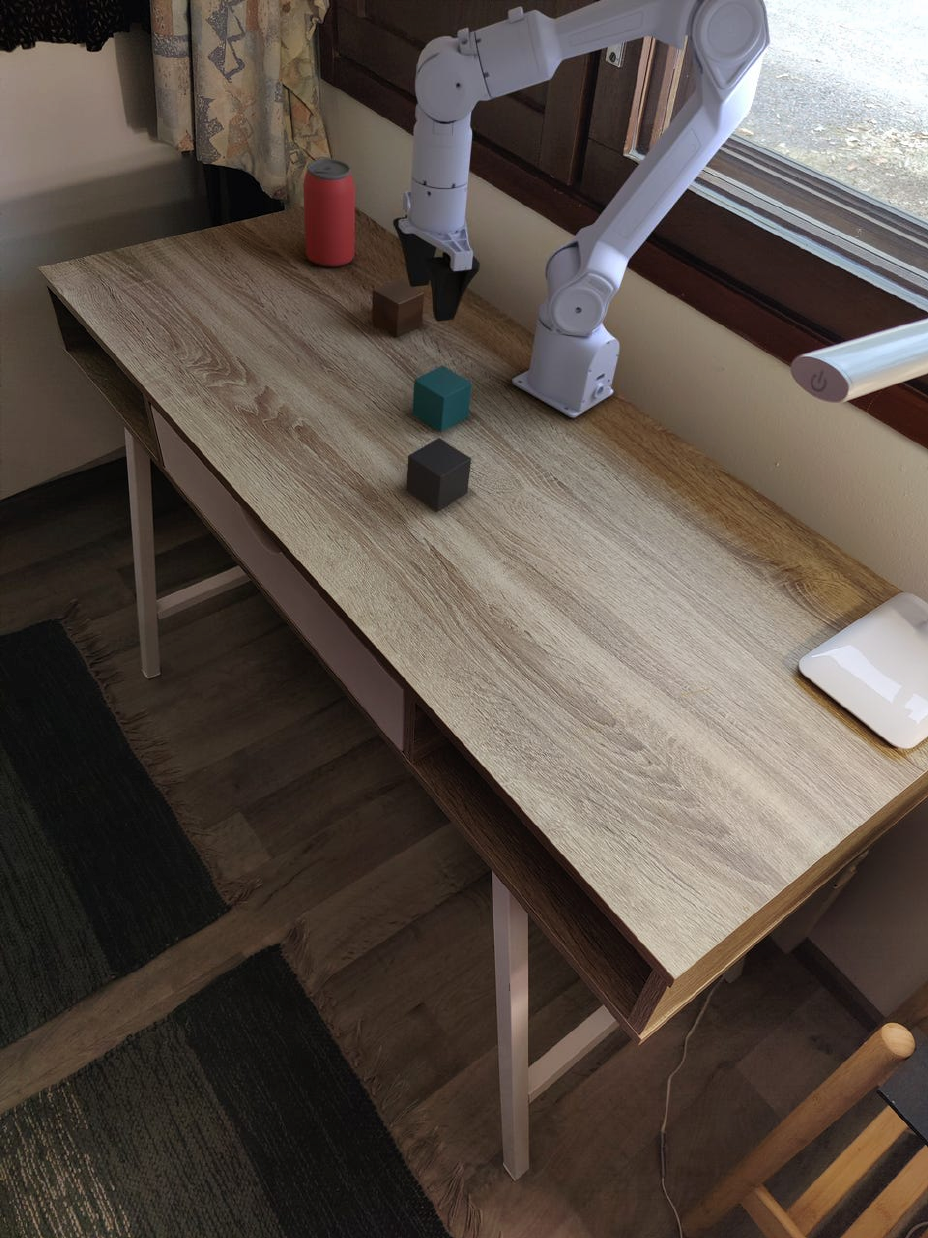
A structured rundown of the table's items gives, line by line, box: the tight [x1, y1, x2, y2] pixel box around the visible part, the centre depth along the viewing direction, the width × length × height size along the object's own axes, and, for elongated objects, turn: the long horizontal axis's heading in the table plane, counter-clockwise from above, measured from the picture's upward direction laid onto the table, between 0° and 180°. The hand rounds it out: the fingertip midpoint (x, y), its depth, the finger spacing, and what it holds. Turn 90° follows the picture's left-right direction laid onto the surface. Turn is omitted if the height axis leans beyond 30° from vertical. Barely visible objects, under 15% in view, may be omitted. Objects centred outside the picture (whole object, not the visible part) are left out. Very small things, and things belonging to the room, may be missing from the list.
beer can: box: [302, 158, 356, 268], centre depth 126 cm, size 7×7×12 cm
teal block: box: [411, 365, 473, 433], centre depth 106 cm, size 4×4×4 cm
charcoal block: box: [405, 437, 472, 513], centre depth 96 cm, size 4×4×4 cm
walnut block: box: [371, 278, 425, 338], centre depth 118 cm, size 4×4×4 cm
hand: (431, 301), depth 106 cm, fingers open, 7 cm apart
